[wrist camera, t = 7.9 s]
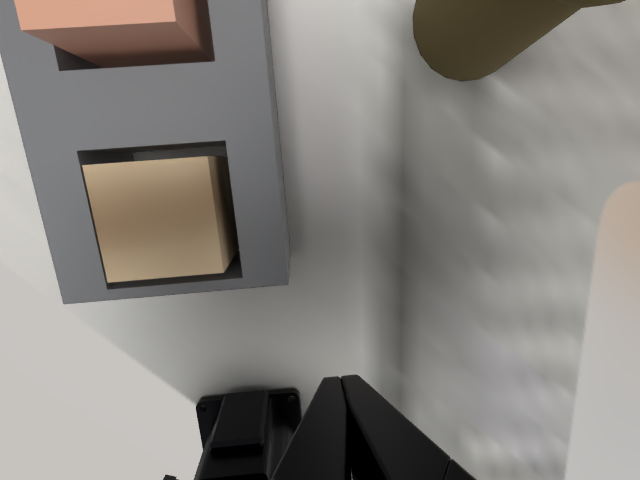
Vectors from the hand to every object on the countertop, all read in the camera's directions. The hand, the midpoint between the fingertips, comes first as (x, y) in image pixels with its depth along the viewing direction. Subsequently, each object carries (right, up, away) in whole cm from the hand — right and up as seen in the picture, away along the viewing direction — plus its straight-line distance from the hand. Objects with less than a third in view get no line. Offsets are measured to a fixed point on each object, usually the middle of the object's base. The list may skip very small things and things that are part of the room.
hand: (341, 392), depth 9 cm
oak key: (-7, +6, +11) cm, 15 cm away
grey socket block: (-8, +10, +11) cm, 17 cm away
